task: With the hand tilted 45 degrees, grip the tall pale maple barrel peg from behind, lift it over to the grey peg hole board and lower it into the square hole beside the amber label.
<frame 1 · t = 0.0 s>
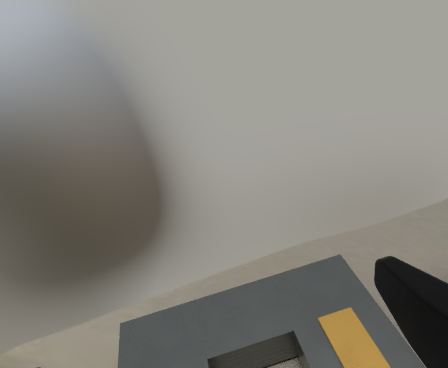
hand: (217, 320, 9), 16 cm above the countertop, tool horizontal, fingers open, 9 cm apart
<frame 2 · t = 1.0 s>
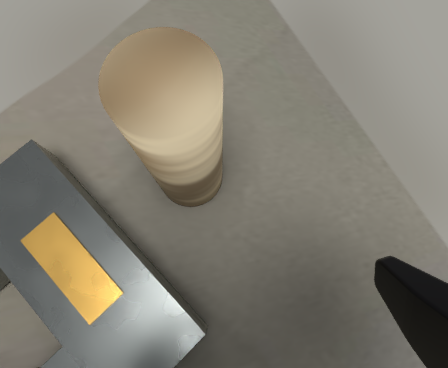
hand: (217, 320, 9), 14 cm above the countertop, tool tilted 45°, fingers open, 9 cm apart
barrel peg: (191, 176, 24), on the countertop
grey peg hole board: (16, 335, 21), on the countertop
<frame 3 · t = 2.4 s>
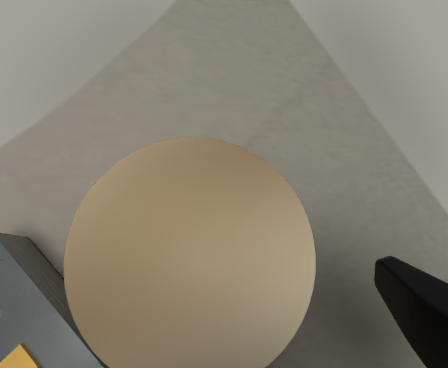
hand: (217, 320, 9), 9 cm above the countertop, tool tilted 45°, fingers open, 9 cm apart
barrel peg: (211, 265, 18), on the countertop
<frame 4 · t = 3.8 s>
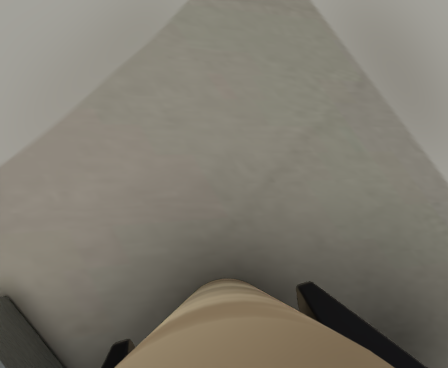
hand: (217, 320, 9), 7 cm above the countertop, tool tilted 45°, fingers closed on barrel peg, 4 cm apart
barrel peg: (227, 330, 15), on the countertop, touching gripper
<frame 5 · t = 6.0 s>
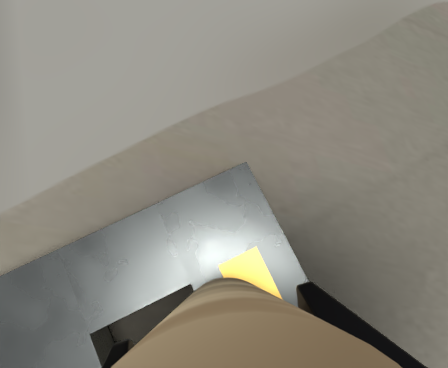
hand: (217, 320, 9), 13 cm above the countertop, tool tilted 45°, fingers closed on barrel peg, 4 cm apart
barrel peg: (228, 329, 15), point 7 cm above the countertop, touching gripper
grey peg hole board: (170, 348, 21), on the countertop
when the fingers open (8 cm above the countertop, at t = 8.0 s): barrel peg drops 1 cm, resting in grey peg hole board.
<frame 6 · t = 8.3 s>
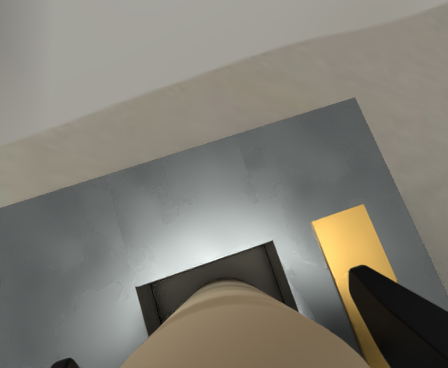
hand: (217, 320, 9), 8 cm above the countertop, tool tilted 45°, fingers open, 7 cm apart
barrel peg: (227, 325, 16), resting in grey peg hole board
grey peg hole board: (227, 324, 16), on the countertop
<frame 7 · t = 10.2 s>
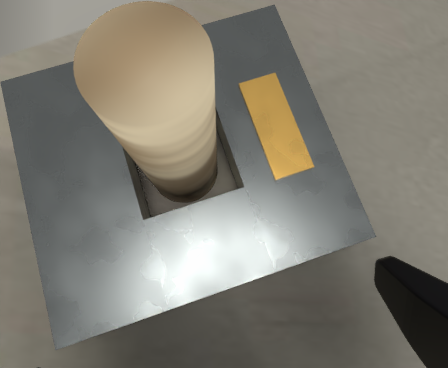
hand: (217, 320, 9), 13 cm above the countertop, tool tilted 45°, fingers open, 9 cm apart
barrel peg: (184, 170, 23), resting in grey peg hole board
grey peg hole board: (184, 169, 23), on the countertop
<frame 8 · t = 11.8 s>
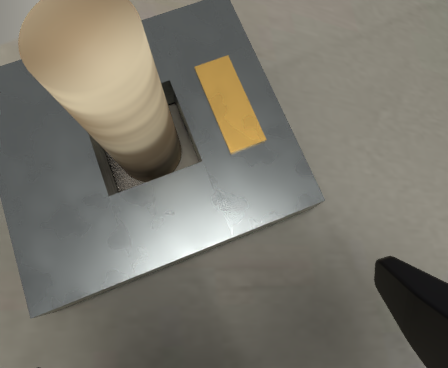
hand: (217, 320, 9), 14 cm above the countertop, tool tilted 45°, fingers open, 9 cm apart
barrel peg: (150, 151, 24), resting in grey peg hole board
grey peg hole board: (150, 151, 24), on the countertop
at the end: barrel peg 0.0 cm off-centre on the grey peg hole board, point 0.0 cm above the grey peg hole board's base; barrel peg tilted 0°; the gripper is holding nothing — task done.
